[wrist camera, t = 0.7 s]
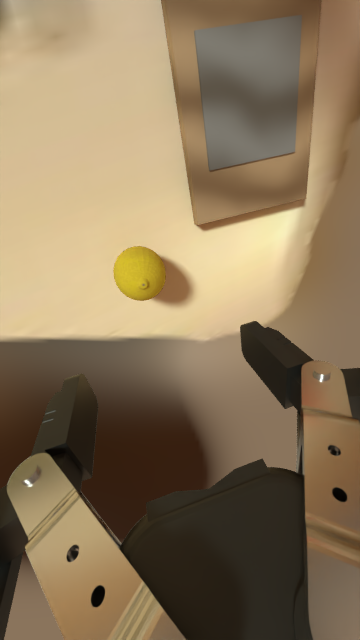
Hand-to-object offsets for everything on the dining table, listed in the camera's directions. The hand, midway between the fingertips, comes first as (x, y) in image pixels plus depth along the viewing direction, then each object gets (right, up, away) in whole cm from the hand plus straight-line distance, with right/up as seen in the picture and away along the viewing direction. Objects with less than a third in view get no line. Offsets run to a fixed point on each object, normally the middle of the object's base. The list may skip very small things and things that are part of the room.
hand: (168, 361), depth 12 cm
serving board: (+7, +24, +12) cm, 28 cm away
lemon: (-5, +9, +17) cm, 20 cm away
